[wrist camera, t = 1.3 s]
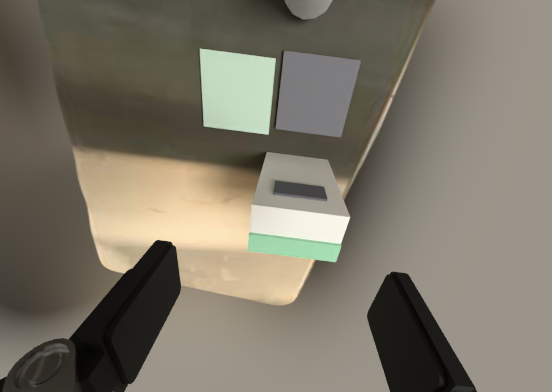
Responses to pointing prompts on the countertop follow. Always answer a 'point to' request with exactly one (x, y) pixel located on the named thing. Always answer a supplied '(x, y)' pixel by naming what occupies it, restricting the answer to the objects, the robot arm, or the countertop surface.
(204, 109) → the green pad
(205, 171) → the countertop surface
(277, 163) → the block
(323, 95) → the grey pad
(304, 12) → the salt shaker
